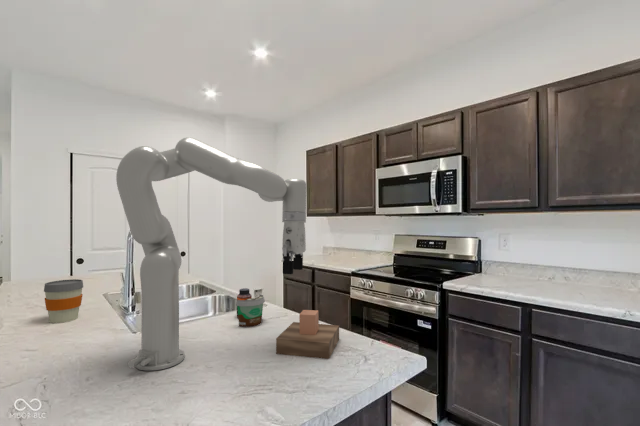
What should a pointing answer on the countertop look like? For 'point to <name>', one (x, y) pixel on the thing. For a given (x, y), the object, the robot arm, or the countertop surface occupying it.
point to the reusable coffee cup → (63, 300)
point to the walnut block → (308, 341)
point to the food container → (250, 311)
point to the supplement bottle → (243, 295)
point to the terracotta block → (309, 322)
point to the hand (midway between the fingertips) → (293, 271)
